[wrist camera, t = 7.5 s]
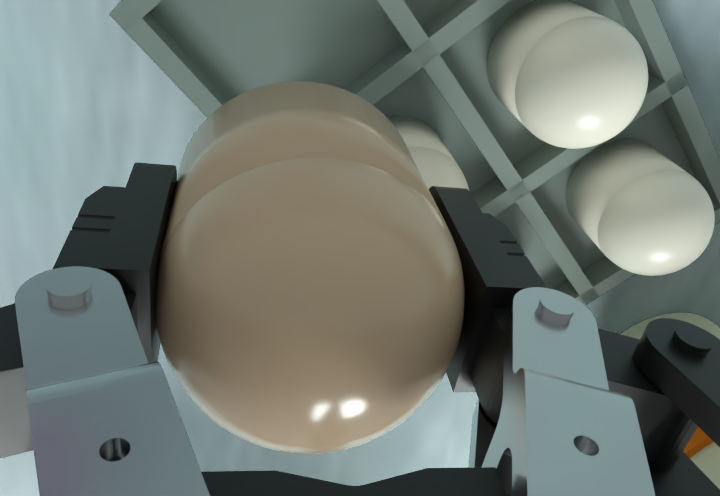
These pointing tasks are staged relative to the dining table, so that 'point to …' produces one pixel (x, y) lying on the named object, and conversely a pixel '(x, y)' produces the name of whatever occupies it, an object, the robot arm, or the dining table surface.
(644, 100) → the egg carton
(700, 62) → the dining table surface
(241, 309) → the brown egg
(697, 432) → the reusable coffee cup
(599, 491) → the robot arm
